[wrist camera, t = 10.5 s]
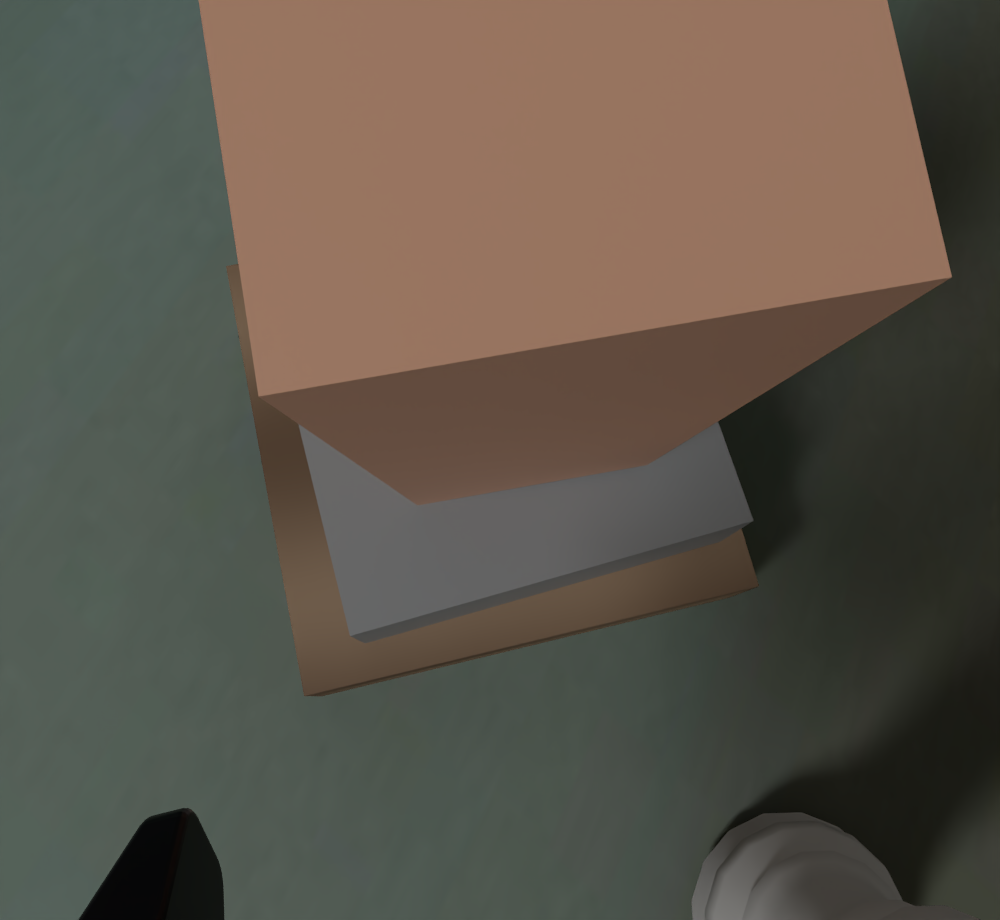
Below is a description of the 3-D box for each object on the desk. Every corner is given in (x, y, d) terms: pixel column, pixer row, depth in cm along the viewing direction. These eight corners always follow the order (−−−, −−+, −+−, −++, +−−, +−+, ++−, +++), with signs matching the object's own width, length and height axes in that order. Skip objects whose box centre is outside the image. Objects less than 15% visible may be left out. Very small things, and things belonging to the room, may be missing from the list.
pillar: (646, 465, 18) (950, 278, 6) (417, 505, 18) (257, 395, 6) (603, 243, 18) (805, -345, 6) (380, 281, 18) (161, -245, 6)
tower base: (722, 600, 23) (759, 585, 20) (325, 696, 22) (304, 695, 19) (617, 243, 25) (636, 185, 22) (255, 317, 24) (226, 266, 22)
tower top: (719, 541, 20) (753, 520, 18) (365, 643, 20) (349, 635, 17) (610, 223, 22) (626, 165, 20) (281, 305, 21) (257, 255, 19)
